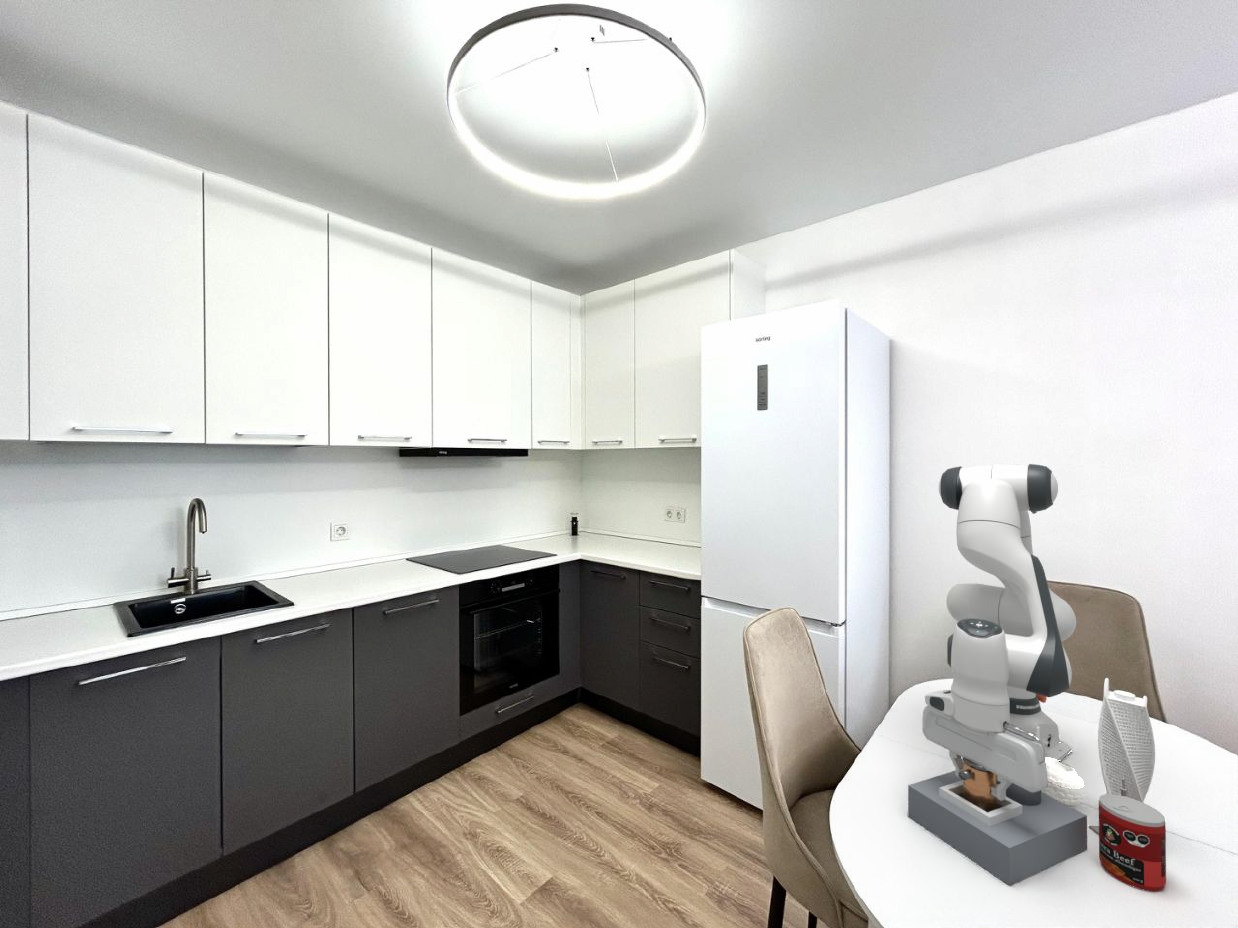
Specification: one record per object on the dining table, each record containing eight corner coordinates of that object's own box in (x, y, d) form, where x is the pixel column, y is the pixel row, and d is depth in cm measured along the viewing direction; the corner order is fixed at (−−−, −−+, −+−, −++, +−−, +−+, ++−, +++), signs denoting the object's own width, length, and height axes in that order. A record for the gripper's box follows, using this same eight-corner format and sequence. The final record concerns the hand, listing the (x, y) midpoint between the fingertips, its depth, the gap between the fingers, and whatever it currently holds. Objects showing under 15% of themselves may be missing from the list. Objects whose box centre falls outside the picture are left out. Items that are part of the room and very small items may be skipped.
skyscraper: (1082, 822, 98) (1080, 675, 98) (1125, 823, 97) (1124, 676, 98) (1124, 854, 89) (1122, 693, 90) (1172, 856, 89) (1170, 695, 90)
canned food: (1086, 858, 88) (1086, 793, 89) (1128, 856, 89) (1128, 792, 89) (1134, 894, 81) (1134, 823, 81) (1180, 891, 81) (1179, 821, 82)
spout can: (974, 798, 97) (974, 750, 97) (1004, 815, 92) (1003, 765, 92) (948, 807, 94) (948, 758, 94) (977, 825, 89) (977, 773, 89)
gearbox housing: (981, 791, 107) (981, 738, 107) (1087, 849, 90) (1086, 786, 91) (908, 816, 99) (908, 758, 99) (1009, 885, 82) (1009, 816, 82)
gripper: (1056, 734, 85) (1056, 818, 85) (938, 687, 104) (938, 755, 104) (1033, 741, 83) (1033, 828, 82) (917, 692, 102) (917, 762, 101)
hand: (979, 787), depth 93 cm, fingers closed on spout can, 5 cm apart
